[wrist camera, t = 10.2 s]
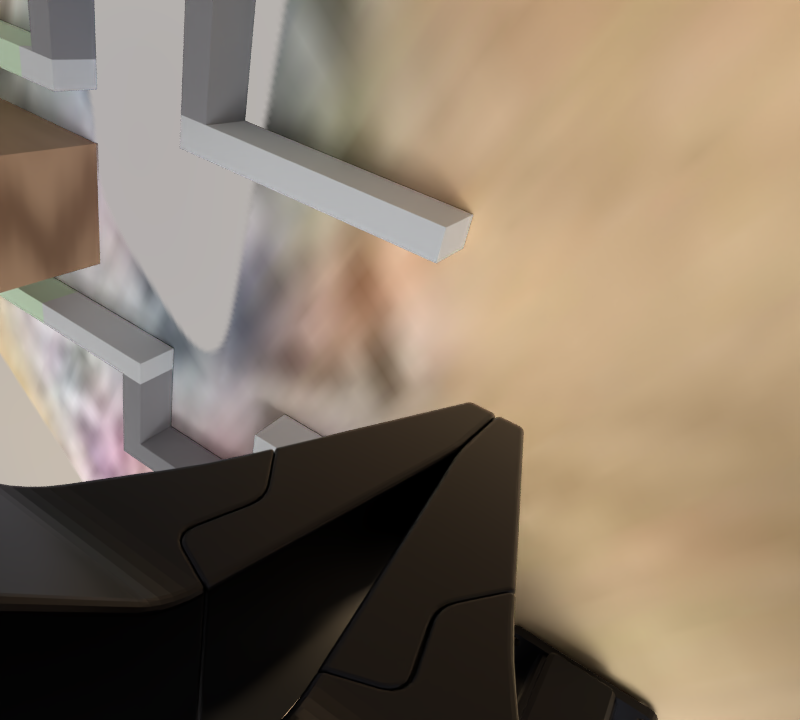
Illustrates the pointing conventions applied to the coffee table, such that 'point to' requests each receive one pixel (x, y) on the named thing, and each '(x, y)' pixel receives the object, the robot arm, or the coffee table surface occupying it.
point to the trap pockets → (201, 101)
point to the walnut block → (45, 199)
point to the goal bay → (4, 52)
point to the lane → (273, 168)
